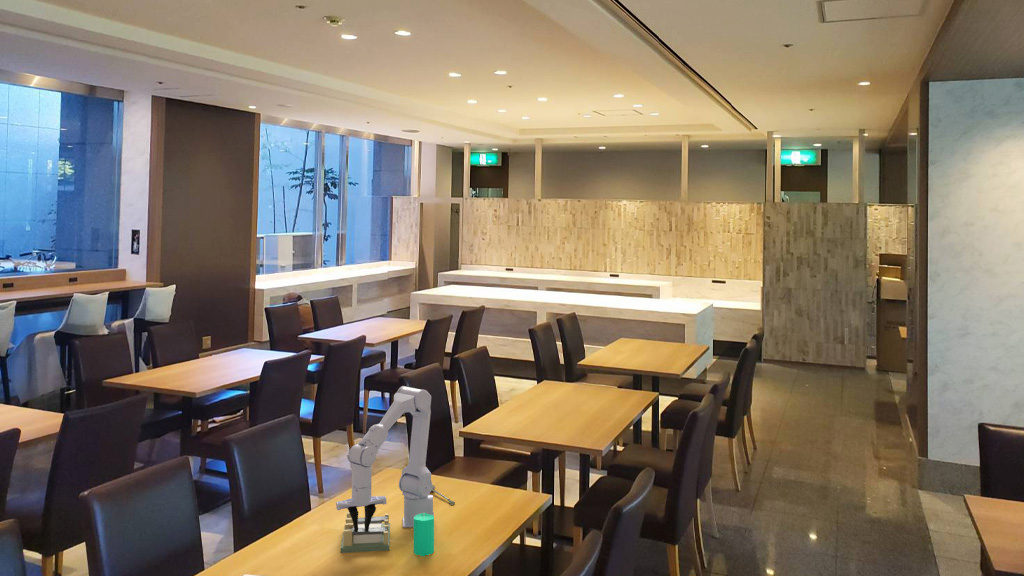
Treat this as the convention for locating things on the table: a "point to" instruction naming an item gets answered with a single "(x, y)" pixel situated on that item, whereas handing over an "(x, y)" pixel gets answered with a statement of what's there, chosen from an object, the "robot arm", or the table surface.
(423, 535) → the candle
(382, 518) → the strap far
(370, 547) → the board
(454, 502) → the soupspoon
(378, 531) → the strap near
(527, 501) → the table surface
